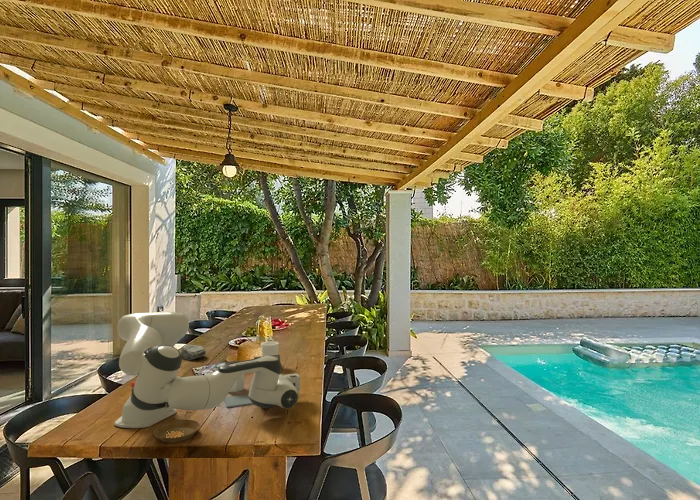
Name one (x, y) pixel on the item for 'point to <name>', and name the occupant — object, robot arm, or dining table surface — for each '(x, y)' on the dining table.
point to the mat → (237, 401)
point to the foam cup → (269, 348)
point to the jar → (237, 382)
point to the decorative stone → (192, 352)
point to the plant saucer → (177, 425)
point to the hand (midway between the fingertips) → (272, 376)
